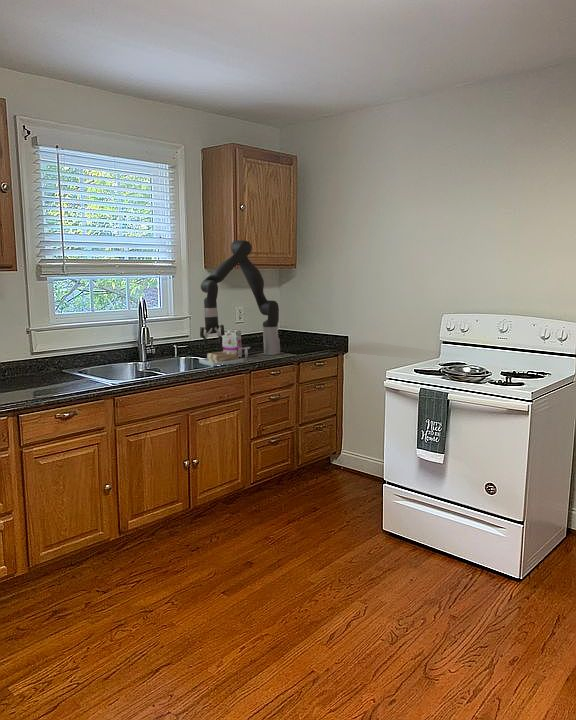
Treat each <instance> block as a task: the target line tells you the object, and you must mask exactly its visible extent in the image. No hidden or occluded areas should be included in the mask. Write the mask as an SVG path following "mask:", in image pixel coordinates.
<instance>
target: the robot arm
mask: <svg viewBox="0 0 576 720" xmlns="http://www.w3.org/2000/svg"><path fill="white" fill-rule="evenodd" d="M252 248H253V247H252V243H250V241H248V240H246V239H245V240H243V239H240V240H239V239H238V240H237V239H236V240H233V241H232V243H231V244H230V250H231V252H232V253H231V254H232V255H231V256H230V257H229V258H227V259H226V260H224V261H223V262H222V263H220V264H219V265H217V267H216V268H215V270H213V271H212V273H211V274H210V275H208V276H207V277H206V278H205V279H203V280H202V282H201V284H200V290H201V291H202V292H203V293H206V297H204V299H203V306H204V307H203V308H204V309H203V310H204V311H203V312H204V314H203V316H204V325H205V326H203V327H202V326H200V327H199V337H200V338H201V339H203V345H205V346H208V337H209V335H212V334H216V335H217V339H218V344H222V336H223V335H225V332H224V331H225V326H224V324H219V314H218V313H219V312H218V303H217V299H218V295H219V294H218V293H219V286H218V283H221V282H222V281H224V279H225V278H226V277H227V276H228V275H229V274H230V272H231V271H232V270H234V268H235V267H236V266H238V265H239V266H240V269H241V270H242V273H243V275H244V277H245V279H246V281H247V284H248V285H249V287H250V289H251V292H252V294H253V296H254V298H255V301H256V304H257V307H258V310H259V312H260V313H261V315H263V316H267V319H266V320H265V321H263V322H262V335H263V337H262V339H263V355H266V356H267V355H268V356H274V355H280V354H281V343H280V342H281V341H280V337H279V328H278V326H279V321H280V320H279V318H280V316H279V315H280V308H279V303H278V302H277V301H276V300H268V299H267V298H266V296H265V292H264V289H265V288H264V287H265V281H264V278H263V276H262V274H261V271H260V270H259V269H258V267H256V265H255V264H254V263H253V262H251V260H250V259H249V257H248V256H249V255H250V254H251V252H252ZM219 330H220V331H219Z"/></svg>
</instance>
